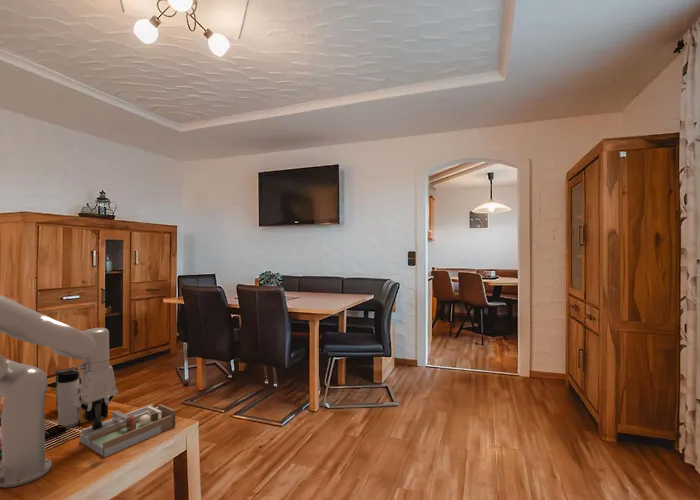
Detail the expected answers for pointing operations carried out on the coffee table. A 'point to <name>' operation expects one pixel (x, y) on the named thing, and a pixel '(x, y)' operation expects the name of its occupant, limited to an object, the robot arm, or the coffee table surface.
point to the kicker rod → (116, 417)
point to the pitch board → (120, 437)
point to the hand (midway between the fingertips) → (96, 418)
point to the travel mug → (67, 398)
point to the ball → (144, 419)
